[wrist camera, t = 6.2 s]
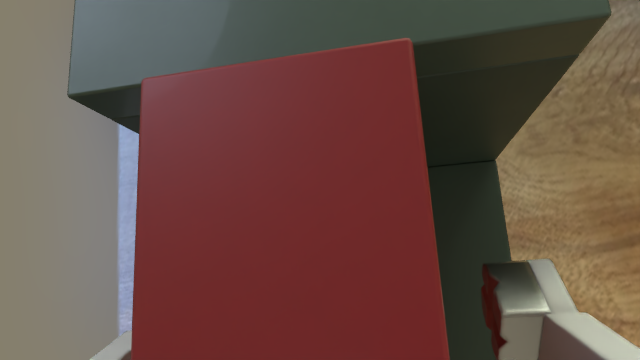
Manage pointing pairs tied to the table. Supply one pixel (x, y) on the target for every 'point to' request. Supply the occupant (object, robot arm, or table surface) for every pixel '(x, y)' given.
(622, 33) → the table surface
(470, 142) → the shelf
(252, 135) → the book
